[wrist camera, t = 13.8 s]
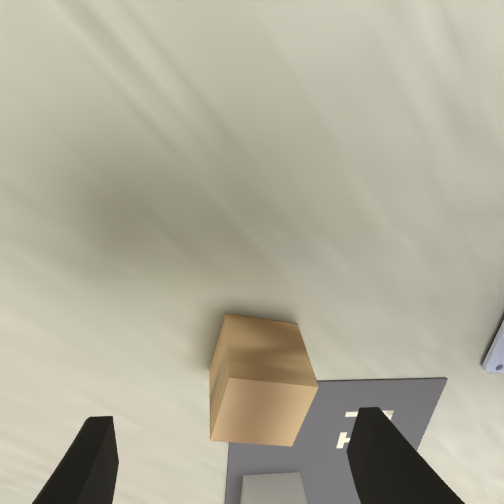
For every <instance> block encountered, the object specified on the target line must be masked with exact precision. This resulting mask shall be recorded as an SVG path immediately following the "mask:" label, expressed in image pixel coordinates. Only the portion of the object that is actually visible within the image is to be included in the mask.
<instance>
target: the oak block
mask: <svg viewBox="0 0 504 504" xmlns="http://www.w3.org/2000/svg"><path fill="white" fill-rule="evenodd" d="M209 371H210V441H221V442H235V443H249V444H264V445H278V446H292V445H293V443H294V441H295V438H296V436H297V434H298V432H299V430H300V427H301V425H302V423H303V421H304V419H305V416H306V414H307V412H308V410H309V408H310V405H311V403H312V401H313V399H314V397H315V394H316V392H317V390H318V388H319V387H318V384H317V381H316V378H315V375H314V372H313V369H312V366H311V363H310V360H309V357H308V354H307V351H306V348H305V345H304V342H303V339H302V336H301V333H300V330H299V327H298V324H296V323H289V322H282V321H275V320H268V319H261V318H254V317H247V316H240V315H233V314H226V313H225V315H224V319H223V322H222V326H221V330H220V333H219V337H218V341H217V344H216V348H215V352H214V355H213V359H212V363H211V366H210V370H209Z"/></svg>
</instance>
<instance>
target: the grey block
mask: <svg viewBox="0 0 504 504" xmlns="http://www.w3.org/2000/svg"><path fill="white" fill-rule="evenodd" d="M240 504H307V501H306V497H305V492H304V488H303V483H302V479H301V474H300V472H294V473H277V474H259V475H243V482H242V491H241V501H240Z"/></svg>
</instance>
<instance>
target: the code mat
mask: <svg viewBox="0 0 504 504" xmlns="http://www.w3.org/2000/svg"><path fill="white" fill-rule="evenodd" d="M446 382H447V378H424V379H383V380H343V381H317V384H318V387H319V388H318V390H317V392H316V394H315V397H314V399H313V401H312V403H311V405H310V408H309V410H308V412H307V414H306V416H305V419H304V421H303V423H302V425H301V427H300V430H299V432H298V434H297V436H296V438H295V441H294V443H293V445H292V446H278V445H264V444H249V443H235V442H229V455H228V468H227V482H226V495H225V504H240V501H241V491H242V482H243V475H259V474H277V473H294V472H300V474H301V479H302V483H303V488H304V492H305V497H306V501H307V504H361V502H360V500H359V497H358V494H357V491H356V488H355V484H354V480H353V477H352V473H351V469H350V464H349V460H348V456H347V452H346V451H347V447H348V444H349V441H350V437H351V434H352V431H353V427H354V424H355V421H356V417H357V414H358V411H359V408H360V407H379V408H380V409H381V410H382V411H383V412H384V414H385V415H386V416H387V417H388V418H389V420H390V421H391V422H392V423H393V424H394V425H395V427H396V428H397V429H398V430H399V431H400V432H401V434H402V435H403V436H404V437H405V438H406V440H407V441H408V442H409V443H410V444H411V445H412V446H413V448H414V449H415V450H416V451H417V449H418V446H419V444H420V442H421V439H422V437H423V435H424V433H425V430H426V428H427V426H428V423H429V421H430V419H431V416H432V414H433V412H434V409H435V407H436V405H437V402H438V400H439V398H440V395H441V393H442V391H443V388H444V386H445V384H446Z"/></svg>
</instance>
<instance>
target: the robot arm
mask: <svg viewBox="0 0 504 504" xmlns="http://www.w3.org/2000/svg"><path fill="white" fill-rule="evenodd" d="M482 367H483V369H484V370H485V371H486V372H489V373H491V372H504V320H503V322H502V325H501V327H500V329H499V331H498V333H497V335H496V337H495V339H494V341H493V343H492V345H491V348H490V350H489V352H488V354H487V356H486V358H485V360H484V362H483V365H482ZM346 452H347V456H348V460H349V464H350V469H351V473H352V477H353V480H354V484H355V488H356V491H357V494H358V497H359V500H360V502H361V504H465V503H464V502H463V501H462V500H461V499H460V498H459V497H458V496H457V495H456V494H455V493H454V492H453V491H452V490H451V489H450V488H449V487H448V485H447V484H446V483H445V482H444V481H443V480H442V479H441V478H440V477H439V476H438V475H437V473H436V472H435V471H434V470H433V469H432V468H431V467H430V466H429V465H428V464H427V462H426V461H425V460H424V459H423V458H422V457H421V456H420V455H419V453H418V452H417V451H416V450H415V449H414V448H413V446H412V445H411V444H410V443H409V442H408V441H407V440H406V438H405V437H404V436H403V435H402V434H401V432H400V431H399V430H398V429H397V428H396V427H395V425H394V424H393V423H392V422H391V421H390V420H389V418H388V417H387V416H386V415H385V414H384V412H383V411H382V410H381V409H380V408H379V407H360V408H359V411H358V414H357V417H356V421H355V424H354V427H353V431H352V434H351V437H350V441H349V444H348V447H347V451H346ZM118 465H119V460H118V453H117V445H116V438H115V431H114V423H113V416H100V417H89V418H88V419H86V421H85V422H84V424H83V426H82V428H81V429H80V431H79V433H78V434H77V436H76V438H75V440H74V441H73V443H72V444H71V446H70V448H69V449H68V451H67V452H66V454H65V456H64V457H63V459H62V460H61V462H60V463H59V465H58V466H57V468H56V469H55V471H54V472H53V474H52V475H51V477H50V478H49V480H48V481H47V483H46V484H45V486H44V487H43V488H42V490H41V491H40V493H39V494H38V496H37V497H36V499H35V500H34V501H33V503H32V504H112V501H113V495H114V490H115V484H116V477H117V471H118Z"/></svg>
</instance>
